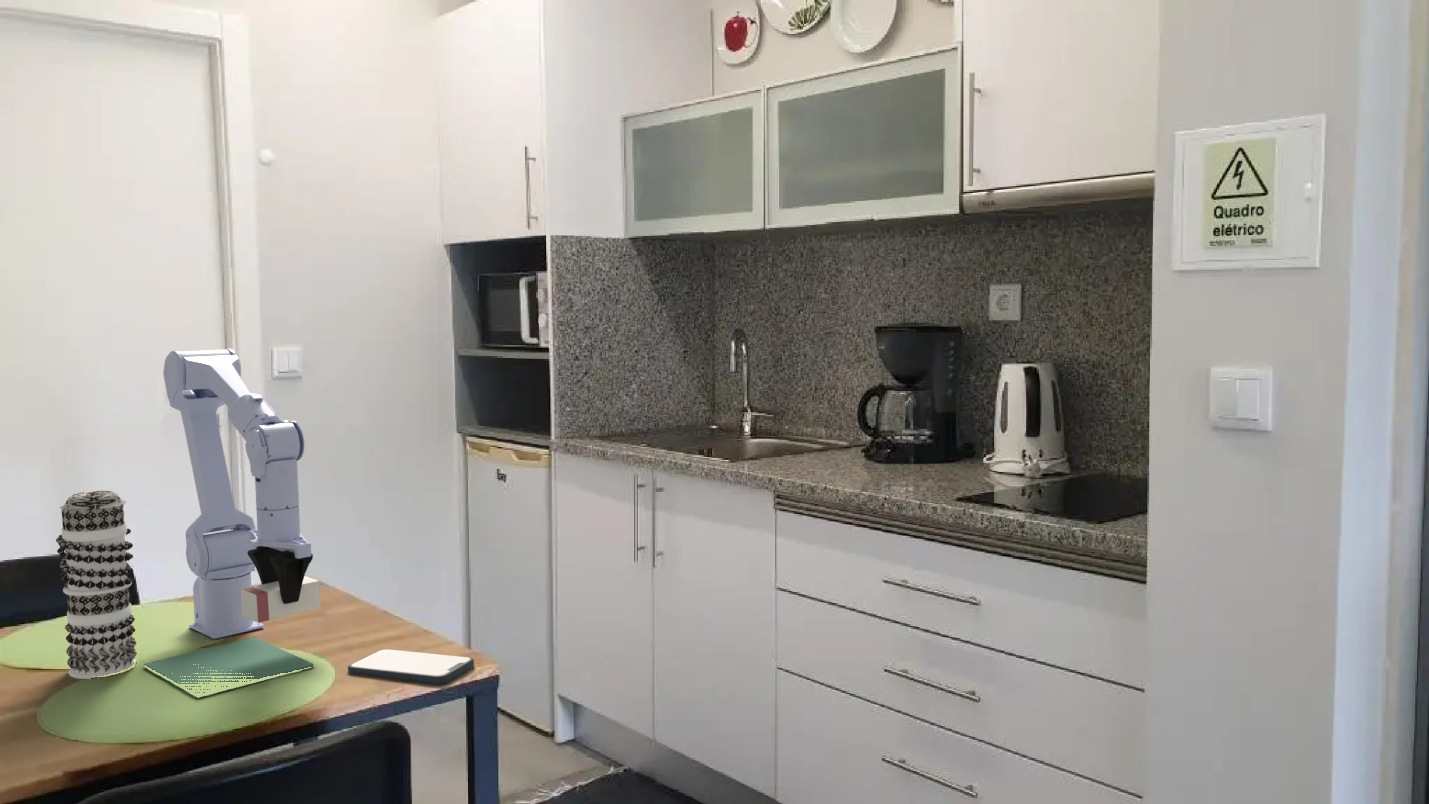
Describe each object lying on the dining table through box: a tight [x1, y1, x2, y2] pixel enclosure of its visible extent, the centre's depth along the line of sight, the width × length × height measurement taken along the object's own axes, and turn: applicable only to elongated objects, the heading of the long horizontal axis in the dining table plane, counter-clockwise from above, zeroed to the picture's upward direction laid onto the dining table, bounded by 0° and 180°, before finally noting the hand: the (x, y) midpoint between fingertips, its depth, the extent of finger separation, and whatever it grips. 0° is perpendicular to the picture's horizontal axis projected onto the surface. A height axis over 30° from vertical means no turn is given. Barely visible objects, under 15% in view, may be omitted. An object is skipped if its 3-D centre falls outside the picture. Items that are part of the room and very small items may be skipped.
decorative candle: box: [55, 490, 138, 680], centre depth 155 cm, size 9×9×25 cm
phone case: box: [347, 648, 475, 686], centre depth 156 cm, size 9×2×16 cm
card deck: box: [241, 575, 321, 623], centre depth 161 cm, size 10×5×4 cm, turn 138°
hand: (281, 599), depth 161 cm, fingers closed on card deck, 5 cm apart
